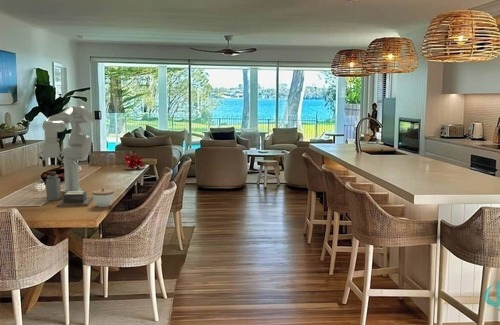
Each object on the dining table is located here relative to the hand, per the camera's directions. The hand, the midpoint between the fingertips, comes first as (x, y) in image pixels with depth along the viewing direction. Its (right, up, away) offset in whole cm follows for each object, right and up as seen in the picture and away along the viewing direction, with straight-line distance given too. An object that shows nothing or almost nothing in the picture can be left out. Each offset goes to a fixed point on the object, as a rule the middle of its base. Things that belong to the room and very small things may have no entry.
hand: (52, 166), depth 314 cm
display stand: (+18, -23, -9) cm, 31 cm away
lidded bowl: (+38, -25, -16) cm, 48 cm away
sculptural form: (+18, -4, +140) cm, 141 cm away
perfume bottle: (0, -22, +3) cm, 22 cm away
